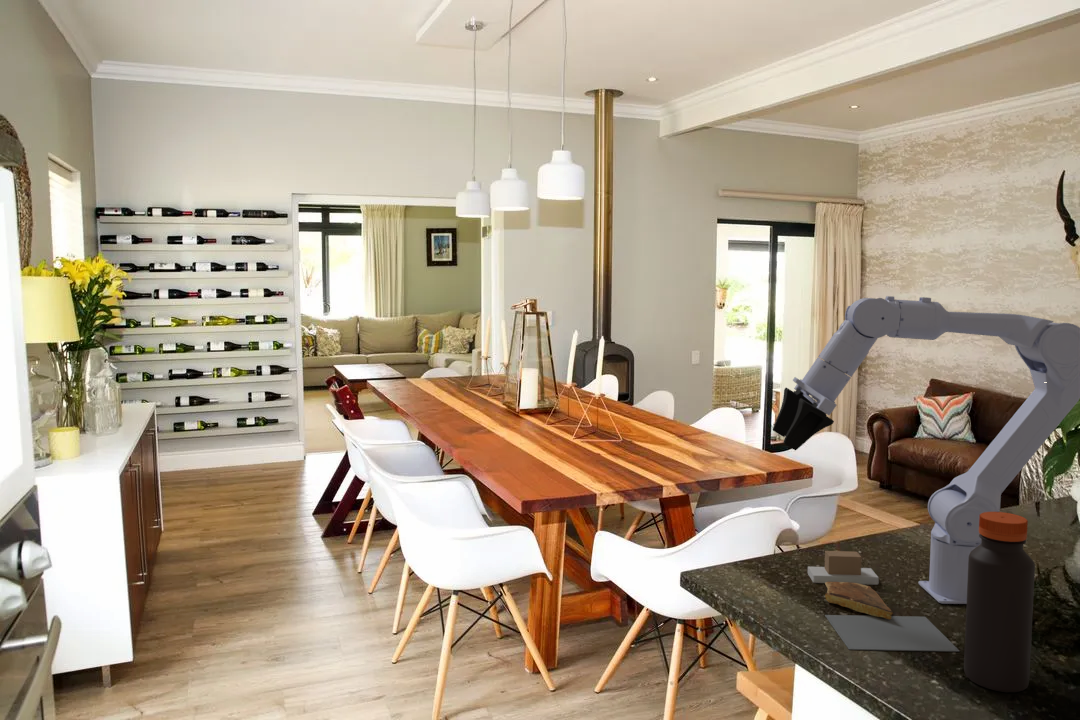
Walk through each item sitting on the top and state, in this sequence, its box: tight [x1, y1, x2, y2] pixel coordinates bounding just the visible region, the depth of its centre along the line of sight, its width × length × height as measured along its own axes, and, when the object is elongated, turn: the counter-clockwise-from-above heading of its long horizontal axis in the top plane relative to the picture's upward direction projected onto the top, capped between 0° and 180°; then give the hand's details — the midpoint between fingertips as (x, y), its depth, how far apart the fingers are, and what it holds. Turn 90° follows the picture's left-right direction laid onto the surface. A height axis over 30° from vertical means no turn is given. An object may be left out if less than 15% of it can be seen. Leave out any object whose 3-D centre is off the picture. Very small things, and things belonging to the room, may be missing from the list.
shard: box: [824, 582, 894, 620], centre depth 115 cm, size 11×8×2 cm
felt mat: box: [824, 614, 961, 653], centre depth 106 cm, size 14×10×1 cm
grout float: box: [807, 550, 880, 586], centre depth 126 cm, size 10×4×4 cm, turn 84°
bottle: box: [963, 511, 1036, 693], centre depth 93 cm, size 7×7×20 cm
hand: (783, 439), depth 122 cm, fingers open, 7 cm apart
